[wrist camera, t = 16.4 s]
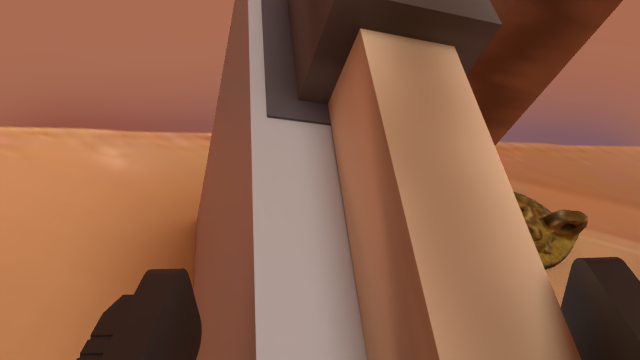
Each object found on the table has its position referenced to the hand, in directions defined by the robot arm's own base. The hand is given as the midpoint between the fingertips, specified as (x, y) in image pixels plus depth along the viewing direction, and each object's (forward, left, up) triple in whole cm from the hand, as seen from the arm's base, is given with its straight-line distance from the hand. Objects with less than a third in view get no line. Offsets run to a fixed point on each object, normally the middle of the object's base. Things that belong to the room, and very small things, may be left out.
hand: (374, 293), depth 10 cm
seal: (-29, -19, -26) cm, 43 cm away
